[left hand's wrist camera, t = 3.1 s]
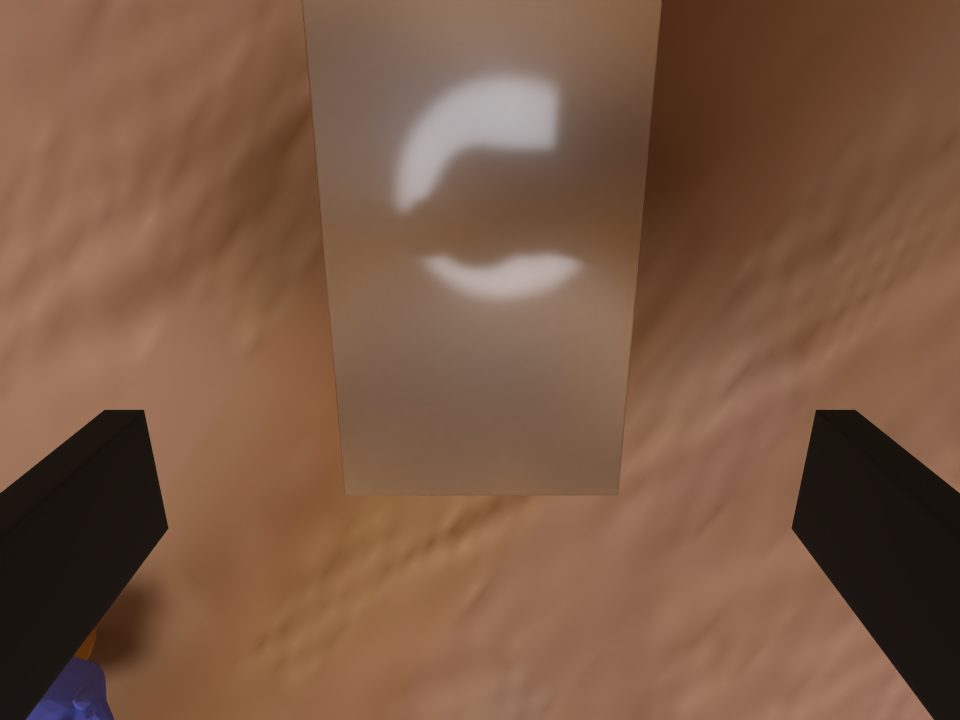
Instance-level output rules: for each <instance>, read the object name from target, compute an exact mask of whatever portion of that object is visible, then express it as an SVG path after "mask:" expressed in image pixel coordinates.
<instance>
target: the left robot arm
mask: <svg viewBox="0 0 960 720" xmlns="http://www.w3.org/2000/svg"><path fill="white" fill-rule="evenodd" d="M167 530H168V524H167V520H166V515H165V510H164V505H163V500H162V495H161V490H160V486H159V481H158V476H157V471H156V466H155V461H154V457H153V452H152V447H151V442H150V437H149V432H148V427H147V423H146V418H145V413H144V410H104V411H103V412H101V413H100V414H99V415H98V416H96V417H95V418H94V419H93V420H91V421H90V422H89V423H88V424H86V425H85V426H84V427H83V428H81V429H80V430H79V431H78V432H76V433H75V434H74V435H73V436H71V437H70V438H69V439H68V440H66V441H65V442H64V443H63V444H61V445H60V446H59V447H58V448H56V449H55V450H54V451H53V452H51V453H50V454H49V455H48V456H46V457H45V458H44V459H43V460H41V461H40V462H39V463H38V464H36V465H35V466H34V467H33V468H31V469H30V470H29V471H28V472H26V473H25V474H24V475H23V476H21V477H20V478H19V479H18V480H16V481H15V482H14V483H13V484H11V485H10V486H9V487H8V488H6V489H5V490H4V491H3V492H1V493H0V720H26V719H27V718H28V716H29V715H30V714H31V712H32V711H33V710H34V708H35V707H36V705H37V704H38V703H39V701H40V700H41V699H42V697H43V696H44V695H45V693H46V692H47V691H48V689H49V688H50V687H51V685H52V684H53V683H54V681H55V680H56V679H57V677H58V676H59V675H60V673H61V672H62V671H63V669H64V668H65V667H66V665H67V664H68V663H69V661H70V660H71V658H72V657H73V656H74V654H75V653H76V652H77V650H78V649H79V648H80V646H81V645H82V644H83V642H84V641H85V640H86V638H87V637H88V636H89V634H90V633H91V632H92V630H93V629H94V628H95V626H96V625H97V624H98V622H99V621H100V620H101V618H102V617H103V616H104V614H105V613H106V611H107V610H108V609H109V607H110V606H111V605H112V603H113V602H114V601H115V599H116V598H117V597H118V595H119V594H120V593H121V591H122V590H123V589H124V587H125V586H126V585H127V583H128V582H129V581H130V579H131V578H132V577H133V575H134V574H135V573H136V571H137V570H138V569H139V567H140V566H141V565H142V563H143V562H144V560H145V559H146V558H147V556H148V555H149V554H150V552H151V551H152V550H153V548H154V547H155V546H156V544H157V543H158V542H159V540H160V539H161V538H162V536H163V535H164V534H165V532H166V531H167ZM792 530H793V531H794V532H795V534H796V535H797V536H798V538H799V539H800V540H801V542H802V543H803V544H804V546H805V547H806V548H807V550H808V551H809V552H810V554H811V555H812V556H813V558H814V559H815V560H816V562H817V563H818V565H819V566H820V567H821V569H822V570H823V571H824V573H825V574H826V575H827V577H828V578H829V579H830V581H831V582H832V583H833V585H834V586H835V587H836V589H837V590H838V591H839V593H840V594H841V595H842V597H843V598H844V599H845V601H846V602H847V603H848V605H849V606H850V607H851V609H852V610H853V611H854V613H855V614H856V616H857V617H858V618H859V620H860V621H861V622H862V624H863V625H864V626H865V628H866V629H867V630H868V632H869V633H870V634H871V636H872V637H873V638H874V640H875V641H876V642H877V644H878V645H879V646H880V648H881V649H882V650H883V652H884V653H885V654H886V656H887V657H888V658H889V660H890V661H891V663H892V664H893V665H894V667H895V668H896V669H897V671H898V672H899V673H900V675H901V676H902V677H903V679H904V680H905V681H906V683H907V684H908V685H909V687H910V688H911V689H912V691H913V692H914V693H915V695H916V696H917V697H918V699H919V700H920V701H921V703H922V704H923V705H924V707H925V708H926V710H927V711H928V712H929V714H930V715H931V716H932V718H933V719H934V720H960V493H959V492H957V491H956V490H955V489H954V488H952V487H951V486H950V485H949V484H947V483H946V482H945V481H944V480H942V479H941V478H940V477H939V476H937V475H936V474H935V473H934V472H932V471H931V470H930V469H929V468H927V467H926V466H925V465H924V464H922V463H921V462H920V461H919V460H917V459H916V458H915V457H914V456H912V455H911V454H910V453H909V452H907V451H906V450H905V449H904V448H902V447H901V446H900V445H899V444H897V443H896V442H895V441H894V440H892V439H891V438H890V437H889V436H887V435H886V434H885V433H884V432H882V431H881V430H880V429H879V428H877V427H876V426H875V425H874V424H872V423H871V422H870V421H869V420H867V419H866V418H865V417H864V416H862V415H861V414H860V413H859V412H857V411H856V410H816V413H815V418H814V423H813V427H812V432H811V437H810V442H809V447H808V452H807V457H806V461H805V466H804V471H803V476H802V481H801V486H800V490H799V495H798V500H797V505H796V510H795V515H794V520H793V524H792Z"/></svg>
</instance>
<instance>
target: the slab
mask: <svg viewBox="0 0 960 720" xmlns="http://www.w3.org/2000/svg"><path fill="white" fill-rule="evenodd" d="M302 8H303V20H304V31H305V43H306V54H307V65H308V77H309V88H310V100H311V111H312V123H313V134H314V146H315V157H316V168H317V180H318V191H319V203H320V214H321V226H322V237H323V249H324V260H325V271H326V283H327V294H328V306H329V317H330V329H331V340H332V352H333V363H334V374H335V386H336V397H337V409H338V420H339V432H340V443H341V455H342V466H343V477H344V489H345V495H618V490H619V479H620V467H621V456H622V445H623V434H624V423H625V411H626V400H627V389H628V378H629V367H630V356H631V344H632V333H633V322H634V311H635V300H636V288H637V277H638V266H639V255H640V244H641V232H642V221H643V210H644V199H645V188H646V176H647V165H648V154H649V143H650V132H651V120H652V109H653V98H654V87H655V76H656V65H657V53H658V42H659V31H660V20H661V9H662V0H302Z"/></svg>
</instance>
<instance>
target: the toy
mask: <svg viewBox="0 0 960 720" xmlns="http://www.w3.org/2000/svg"><path fill="white" fill-rule="evenodd" d="M96 636H97V630H96V629H93V630H92V632H91V633H90V634H89V636H88V637H87V638H86V640H85V641H84V642H83V644H82V645H81V646H80V648H79V649H78V650H77V652H76V653H75V654H74V656H73V657H72V658H71V660H70V661H69V663H68V664H67V665H66V667H65V668H64V669H63V671H62V672H61V673H60V675H59V676H58V677H57V679H56V680H55V681H54V683H53V684H52V685H51V687H50V688H49V689H48V691H47V692H46V693H45V695H44V696H43V697H42V699H41V700H40V701H39V703H38V704H37V705H36V707H35V708H34V710H33V711H32V712H31V714H30V715H29V716H28V718H27V719H26V720H114V718H113V715H112V713H111V710H110V708H109V706H108V703H107V701H106V684H105V676H104V672H103V670H102V669H101V667H100V666H98V665H97V664H96V663H95V662H92V661H89V660H87V659H88V657H89V656H90V655H91V652H92V649H93V646H94V643H95V641H96Z"/></svg>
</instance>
